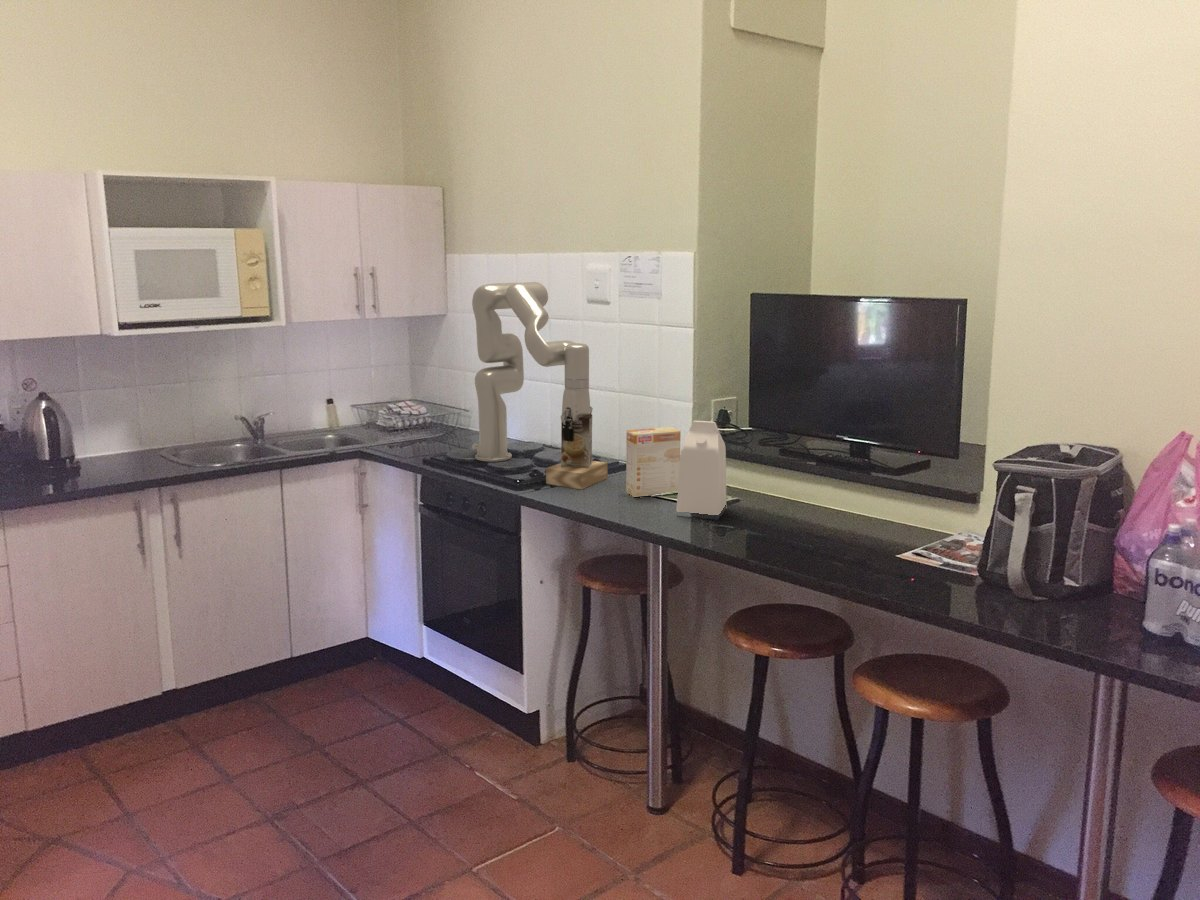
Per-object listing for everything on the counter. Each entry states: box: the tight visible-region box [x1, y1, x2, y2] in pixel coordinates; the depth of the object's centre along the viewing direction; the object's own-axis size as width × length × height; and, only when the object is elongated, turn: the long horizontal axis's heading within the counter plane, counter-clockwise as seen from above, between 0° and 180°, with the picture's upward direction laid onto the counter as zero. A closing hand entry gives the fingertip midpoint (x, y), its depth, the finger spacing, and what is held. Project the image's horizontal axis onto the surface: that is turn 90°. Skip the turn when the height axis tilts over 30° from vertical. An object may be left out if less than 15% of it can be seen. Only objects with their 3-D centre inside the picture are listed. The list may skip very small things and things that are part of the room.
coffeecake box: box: [625, 426, 681, 498], centre depth 288 cm, size 15×7×20 cm, turn 109°
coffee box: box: [560, 414, 593, 468], centre depth 302 cm, size 9×6×16 cm
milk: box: [675, 420, 727, 515], centre depth 268 cm, size 12×12×26 cm
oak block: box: [545, 460, 609, 490], centre depth 304 cm, size 13×16×5 cm
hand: (577, 438), depth 302 cm, fingers open, 9 cm apart
